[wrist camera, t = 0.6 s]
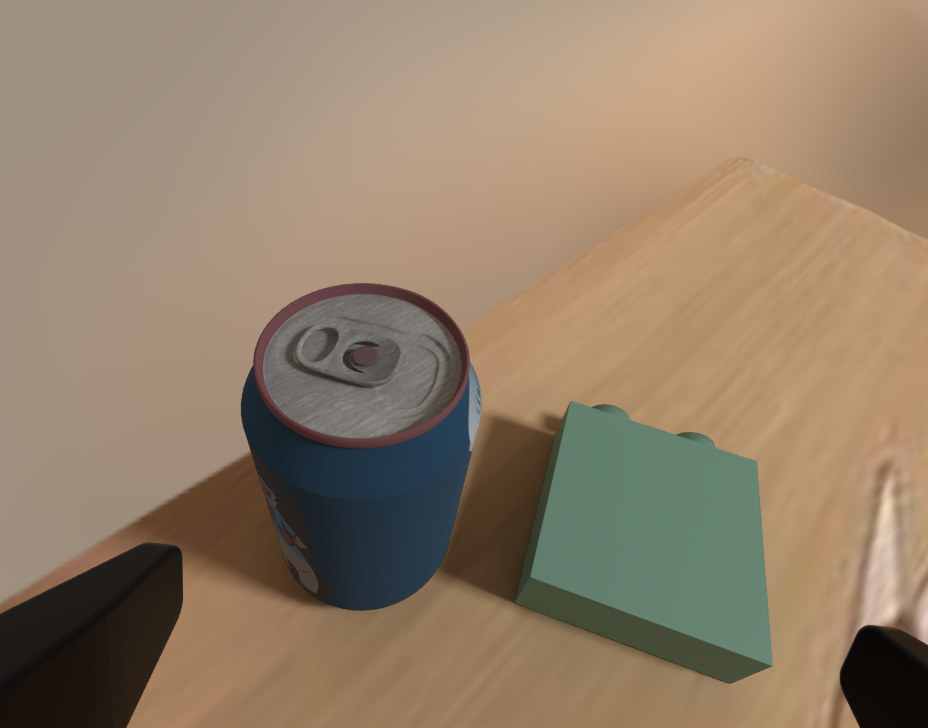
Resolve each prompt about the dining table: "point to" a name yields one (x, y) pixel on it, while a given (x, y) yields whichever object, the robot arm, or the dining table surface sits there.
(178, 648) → the dining table surface
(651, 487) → the base brick
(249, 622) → the dining table surface
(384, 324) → the soda can
